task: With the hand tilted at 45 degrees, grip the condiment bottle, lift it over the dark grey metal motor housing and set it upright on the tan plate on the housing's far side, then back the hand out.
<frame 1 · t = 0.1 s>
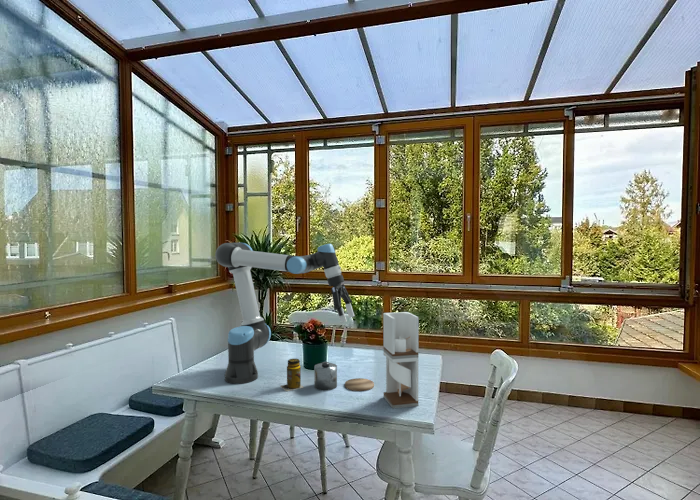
hand: (348, 319, 189), 28 cm above the table, tool tilted 20°, fingers open, 13 cm apart
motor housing: (325, 386, 180), on the table
condiment: (291, 387, 179), on the table
tan plate: (359, 385, 180), on the table
display case: (400, 401, 163), on the table
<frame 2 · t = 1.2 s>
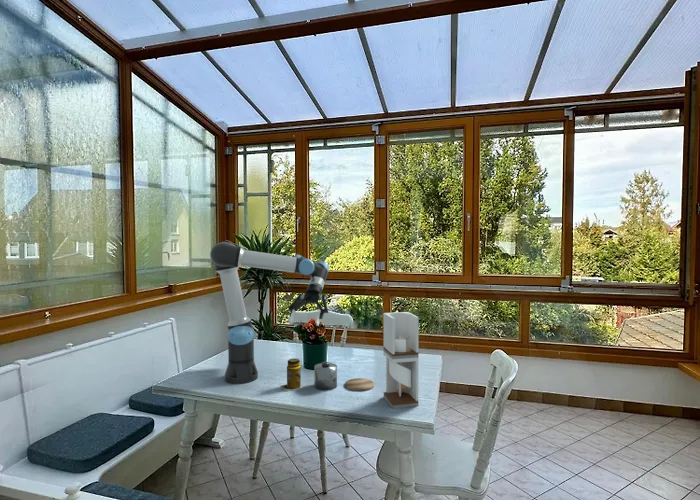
hand: (303, 323, 191), 26 cm above the table, tool tilted 45°, fingers open, 13 cm apart
nothing on the table moved.
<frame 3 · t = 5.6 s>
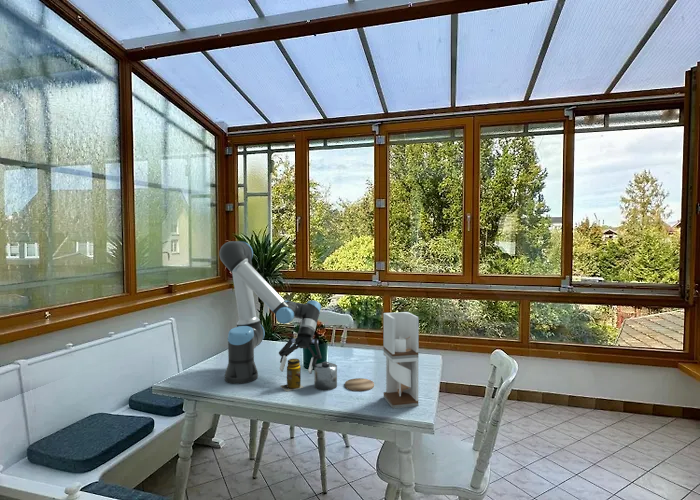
hand: (295, 371, 180), 6 cm above the table, tool tilted 45°, fingers open, 13 cm apart
nothing on the table moved.
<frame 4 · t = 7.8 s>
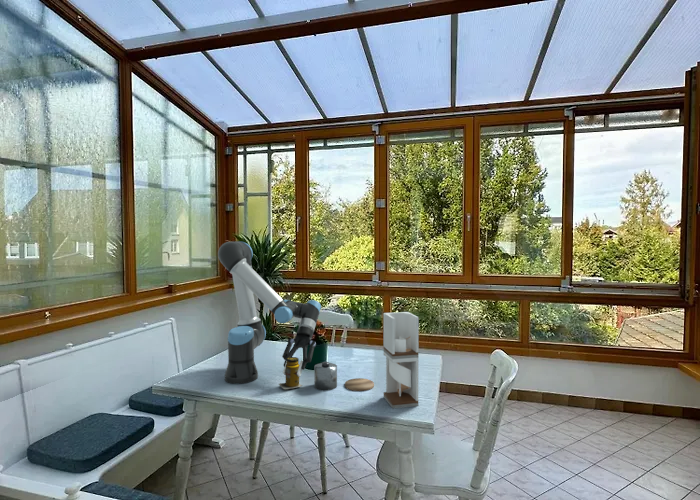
hand: (291, 374, 178), 6 cm above the table, tool tilted 45°, fingers closed on condiment, 6 cm apart
condiment: (290, 385, 179), on the table, touching gripper
everything else where it was.
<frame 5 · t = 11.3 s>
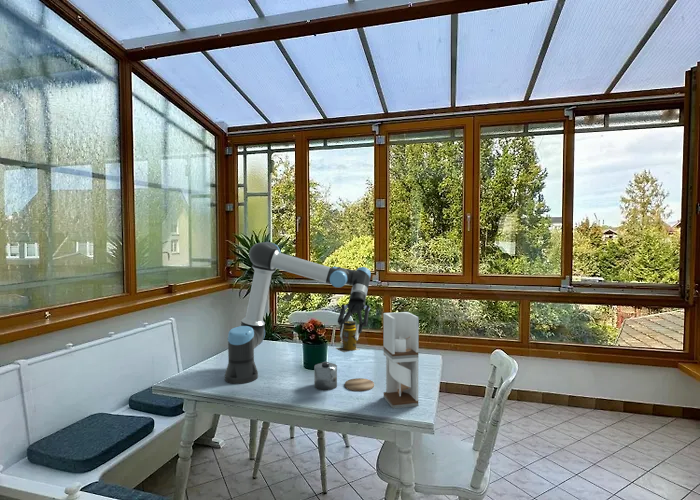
hand: (348, 338, 176), 22 cm above the table, tool tilted 45°, fingers closed on condiment, 6 cm apart
condiment: (347, 349, 177), point 17 cm above the table, touching gripper
everything else where it was.
when the fingers open (6 cm above the table, at t = 14.9 s): condiment stays where it is, resting on tan plate.
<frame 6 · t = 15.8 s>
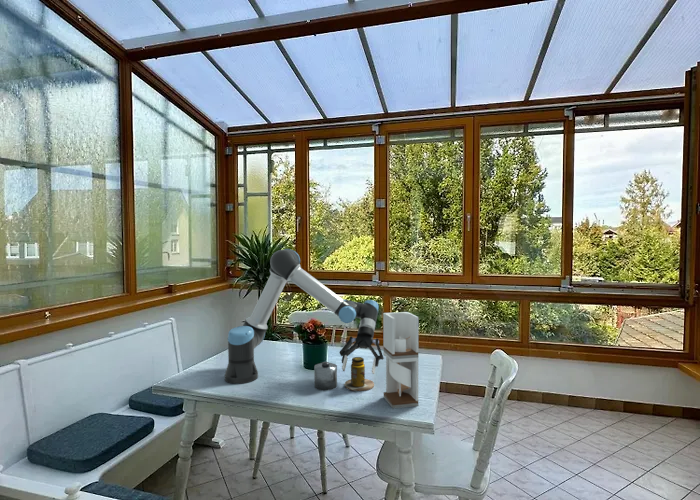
hand: (357, 371, 178), 7 cm above the table, tool tilted 45°, fingers open, 13 cm apart
condiment: (356, 386, 178), point 1 cm above the table, touching tan plate
everything else where it was.
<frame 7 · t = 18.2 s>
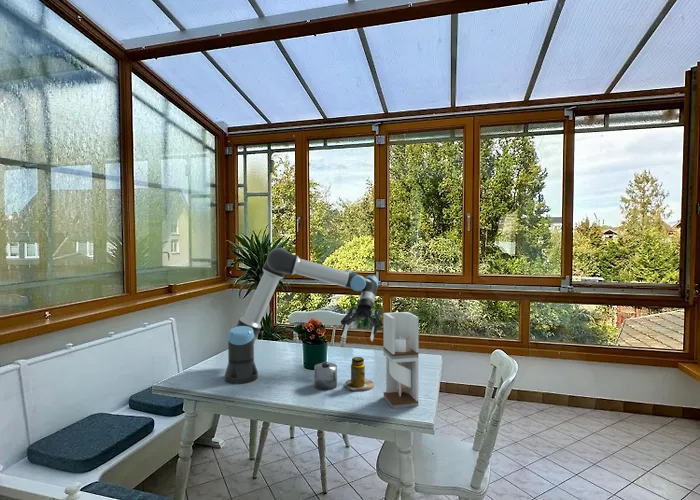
hand: (357, 338, 192), 18 cm above the table, tool tilted 45°, fingers open, 13 cm apart
nothing on the table moved.
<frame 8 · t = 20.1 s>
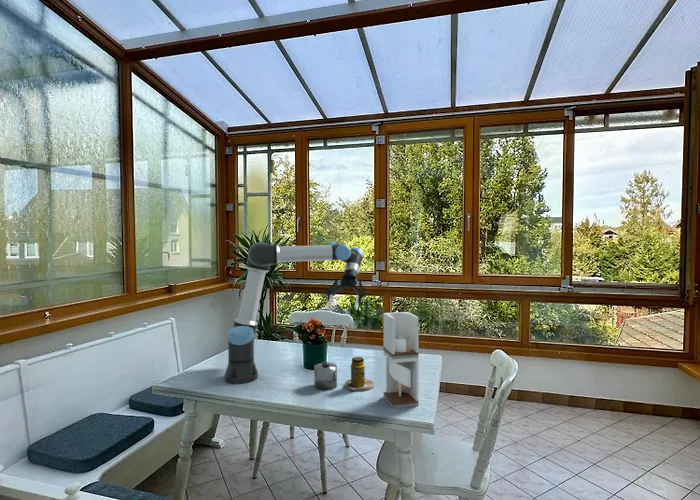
hand: (342, 307, 193), 33 cm above the table, tool tilted 45°, fingers open, 13 cm apart
nothing on the table moved.
at the end: condiment inside the target area on the tan plate (3.1 cm from its centre), point 0.8 cm above the tan plate's base; condiment tilted 0°; the gripper is holding nothing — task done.
